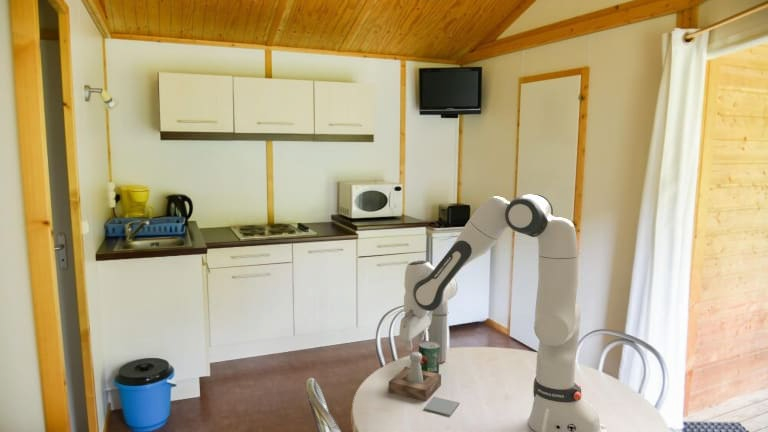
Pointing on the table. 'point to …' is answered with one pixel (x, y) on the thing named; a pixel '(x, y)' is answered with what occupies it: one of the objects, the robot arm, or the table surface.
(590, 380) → the table surface
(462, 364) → the table surface
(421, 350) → the canned tomato
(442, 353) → the water bottle
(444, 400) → the coaster
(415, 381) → the salt shaker
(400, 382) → the socket block
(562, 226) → the robot arm
